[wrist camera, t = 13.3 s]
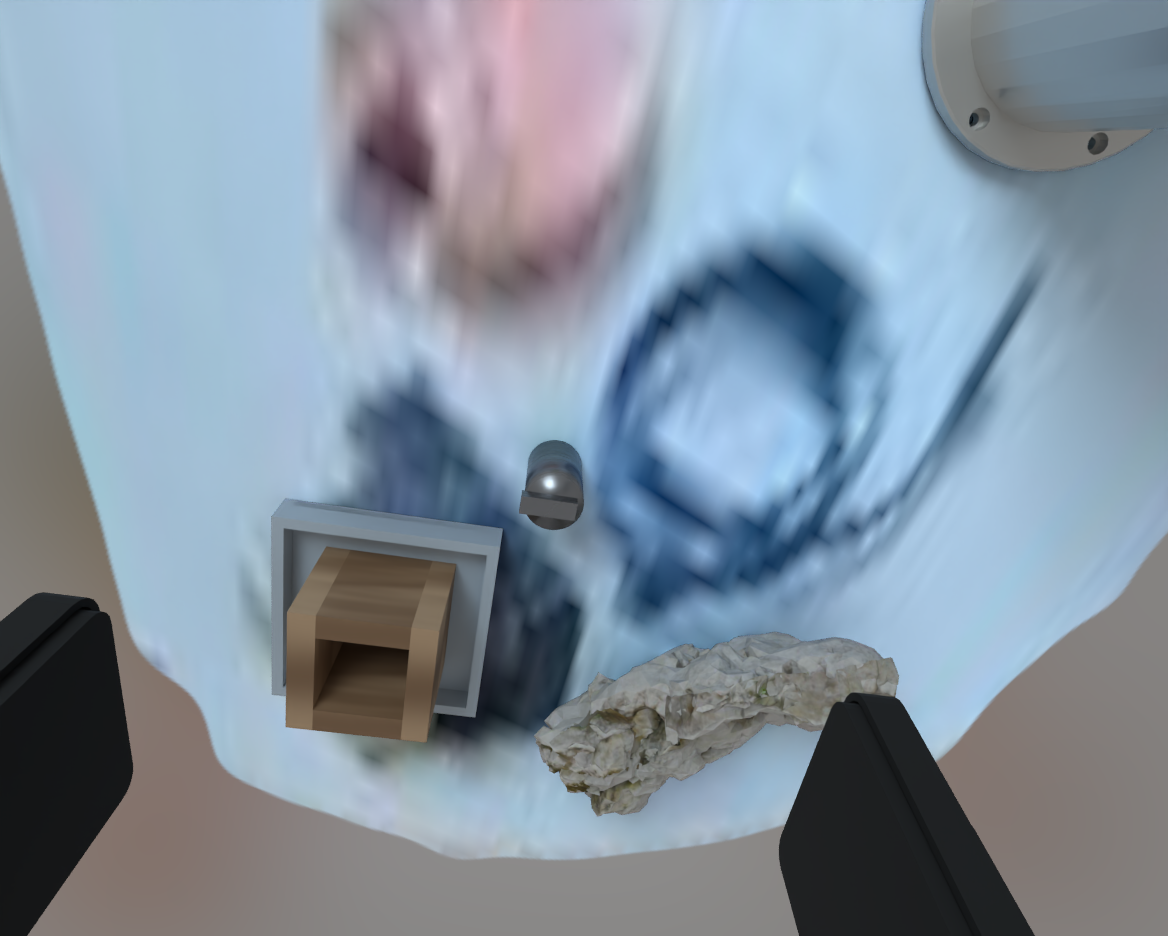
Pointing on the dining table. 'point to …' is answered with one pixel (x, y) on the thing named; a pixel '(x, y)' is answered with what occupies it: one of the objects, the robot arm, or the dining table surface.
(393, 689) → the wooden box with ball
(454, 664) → the tray
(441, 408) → the dining table surface
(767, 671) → the rock
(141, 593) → the dining table surface
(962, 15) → the robot arm
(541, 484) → the grey rounded cylinder
